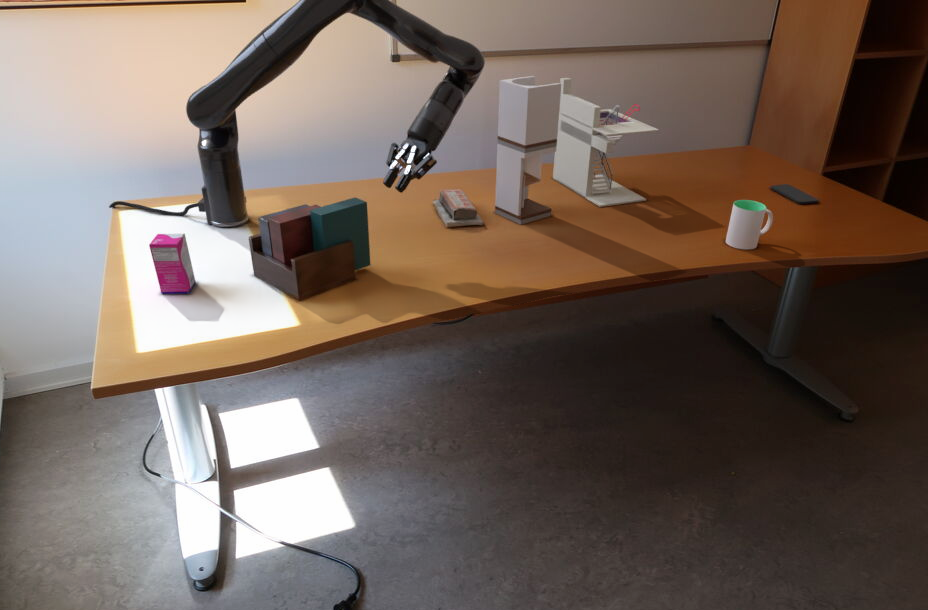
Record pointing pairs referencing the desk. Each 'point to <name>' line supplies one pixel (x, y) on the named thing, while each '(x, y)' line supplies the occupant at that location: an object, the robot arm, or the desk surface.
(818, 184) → the desk surface
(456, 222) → the packaged product
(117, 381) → the desk surface
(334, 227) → the book
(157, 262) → the supplement box
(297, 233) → the book rack
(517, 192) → the notched white tower
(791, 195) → the phone
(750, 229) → the mug
